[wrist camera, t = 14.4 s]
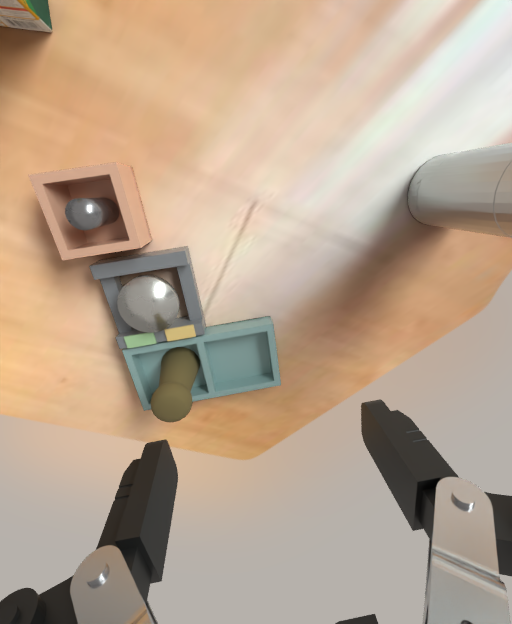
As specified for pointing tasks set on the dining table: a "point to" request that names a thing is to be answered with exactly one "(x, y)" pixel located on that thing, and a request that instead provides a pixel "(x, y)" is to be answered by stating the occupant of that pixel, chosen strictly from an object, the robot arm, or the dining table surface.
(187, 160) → the dining table surface
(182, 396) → the olive gourd
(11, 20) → the crayon box
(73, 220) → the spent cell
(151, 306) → the silver domed disc
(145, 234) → the cup
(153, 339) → the checker cradle
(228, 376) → the teal divided tray
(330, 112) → the dining table surface
